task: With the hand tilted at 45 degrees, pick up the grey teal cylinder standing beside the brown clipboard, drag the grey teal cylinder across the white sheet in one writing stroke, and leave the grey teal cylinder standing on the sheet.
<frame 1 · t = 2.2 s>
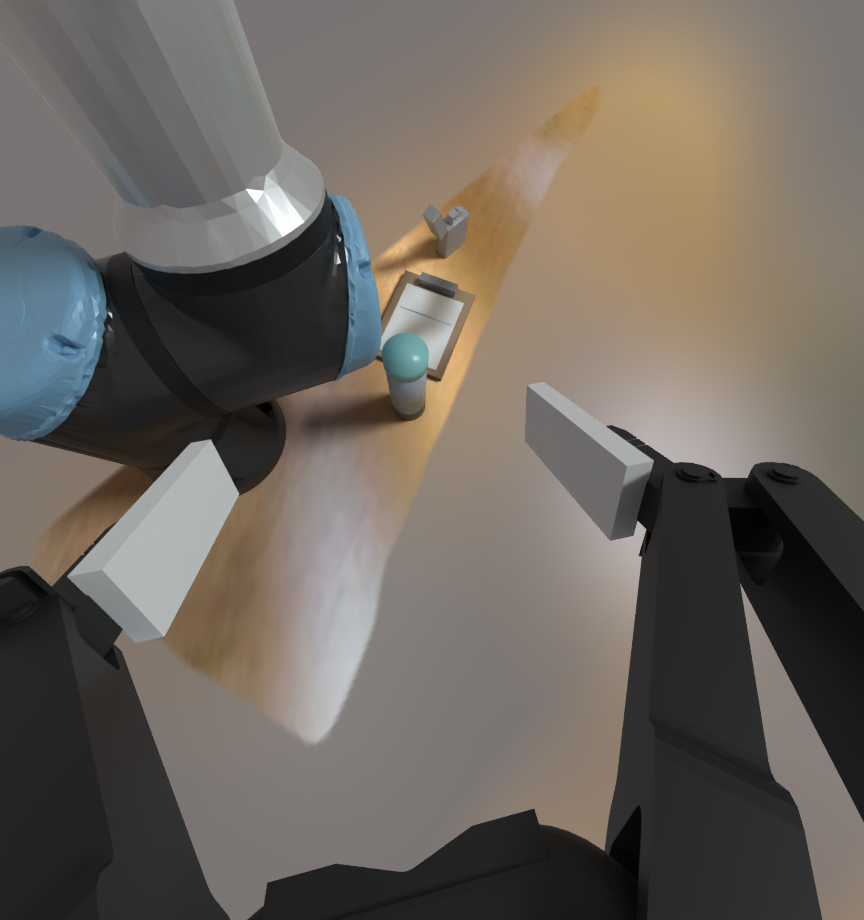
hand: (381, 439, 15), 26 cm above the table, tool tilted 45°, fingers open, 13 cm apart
grey teal cylinder: (408, 405, 42), on the table
lighter: (443, 253, 48), on the table
clipboard: (422, 325, 45), on the table
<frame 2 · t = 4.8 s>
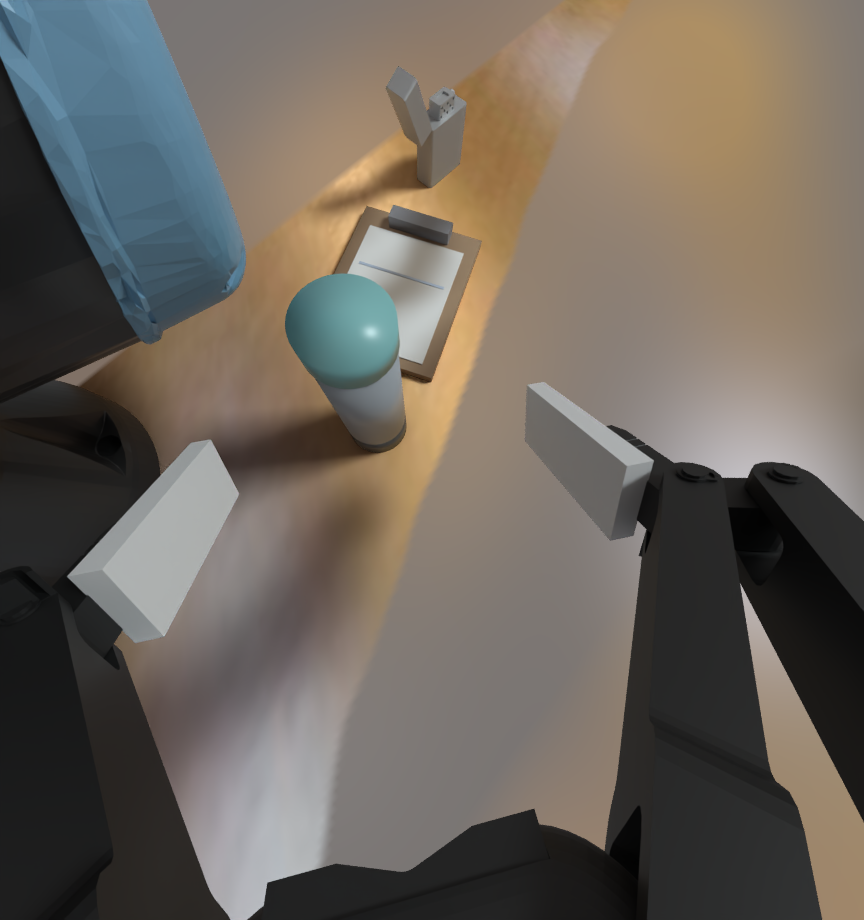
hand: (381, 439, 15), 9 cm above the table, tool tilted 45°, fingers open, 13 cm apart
grey teal cylinder: (378, 425, 25), on the table
lighter: (427, 181, 30), on the table
clipboard: (397, 292, 27), on the table
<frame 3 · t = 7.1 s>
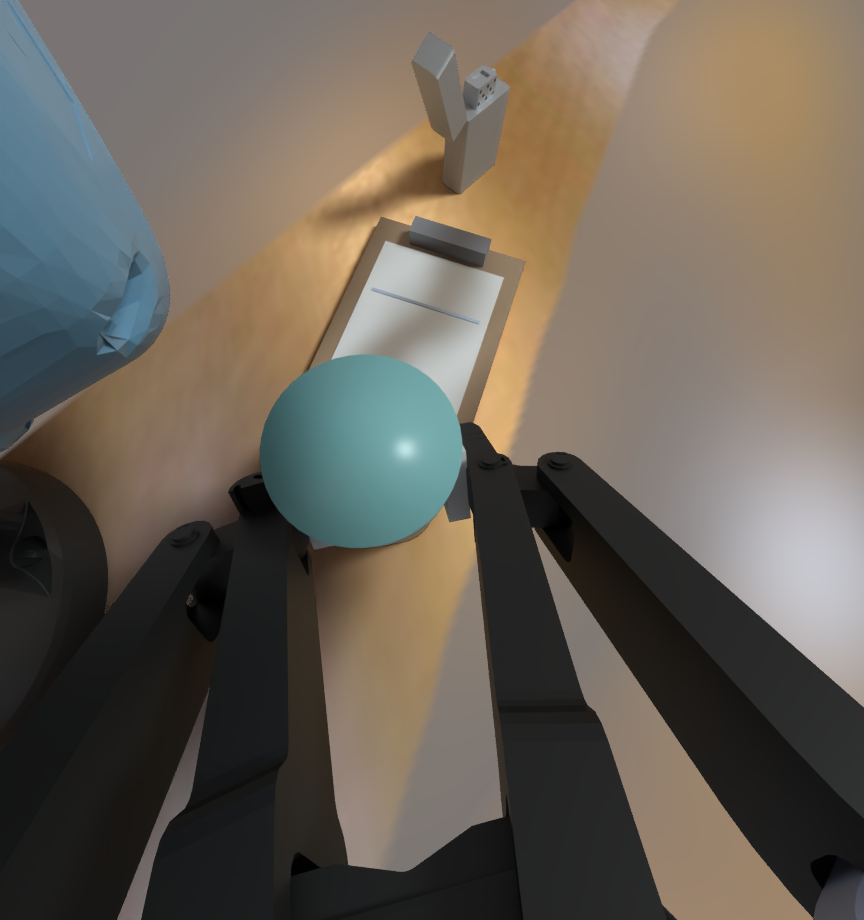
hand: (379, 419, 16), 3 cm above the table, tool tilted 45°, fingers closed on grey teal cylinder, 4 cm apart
grey teal cylinder: (397, 505, 19), on the table, touching gripper
lighter: (455, 186, 24), on the table
clipboard: (420, 326, 21), on the table
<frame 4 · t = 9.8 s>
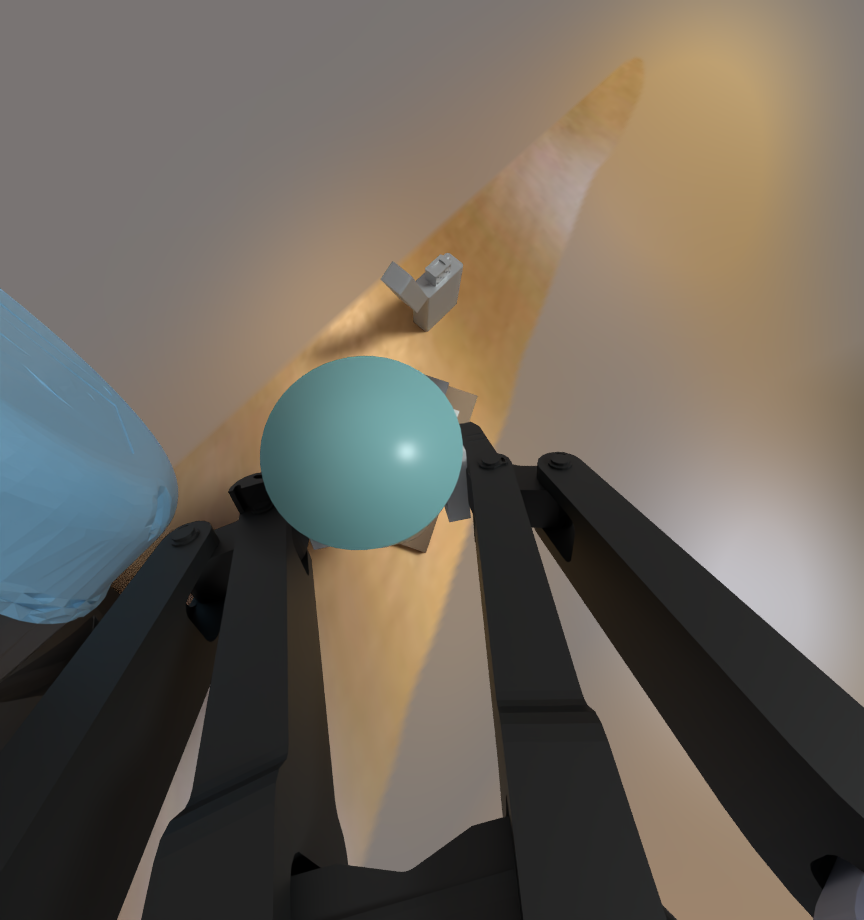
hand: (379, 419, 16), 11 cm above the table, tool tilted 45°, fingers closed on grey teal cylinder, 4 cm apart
grey teal cylinder: (397, 506, 19), point 7 cm above the table, touching gripper
lighter: (423, 323, 30), on the table
clipboard: (392, 450, 27), on the table
when the fingers open (5 cm above the table, at t = 12.8 s): grey teal cylinder stays where it is, resting on clipboard.
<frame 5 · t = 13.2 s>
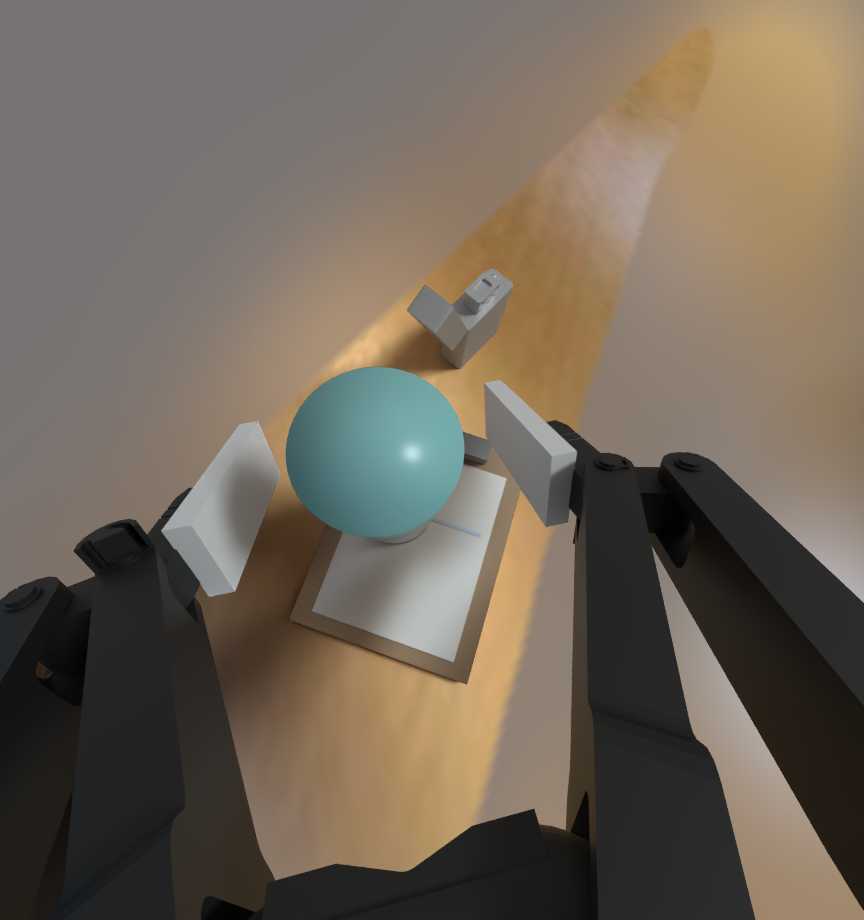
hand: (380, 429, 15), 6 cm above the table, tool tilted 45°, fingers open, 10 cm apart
grey teal cylinder: (398, 508, 20), point 1 cm above the table, touching clipboard
lighter: (454, 358, 23), on the table
clipboard: (417, 532, 20), on the table
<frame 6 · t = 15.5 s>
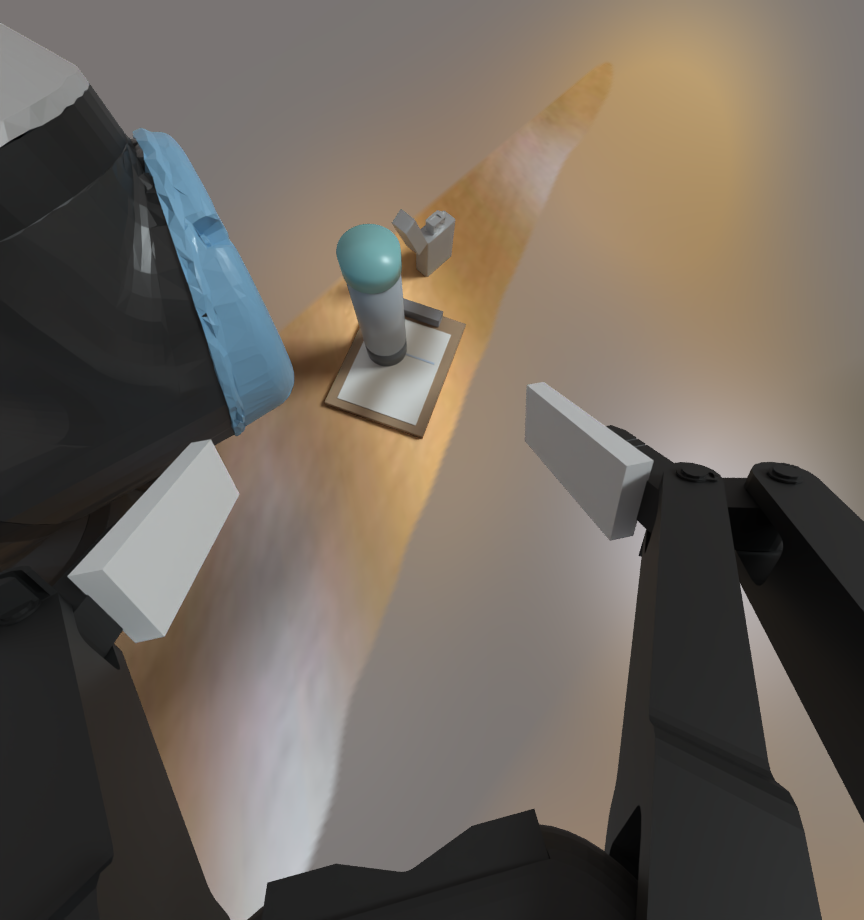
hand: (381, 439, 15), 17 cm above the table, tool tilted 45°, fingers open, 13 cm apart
grey teal cylinder: (387, 348, 34), point 1 cm above the table, touching clipboard
lighter: (424, 271, 38), on the table
clipboard: (398, 364, 35), on the table
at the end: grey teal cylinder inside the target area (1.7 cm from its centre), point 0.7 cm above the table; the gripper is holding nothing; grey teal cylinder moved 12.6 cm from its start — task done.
